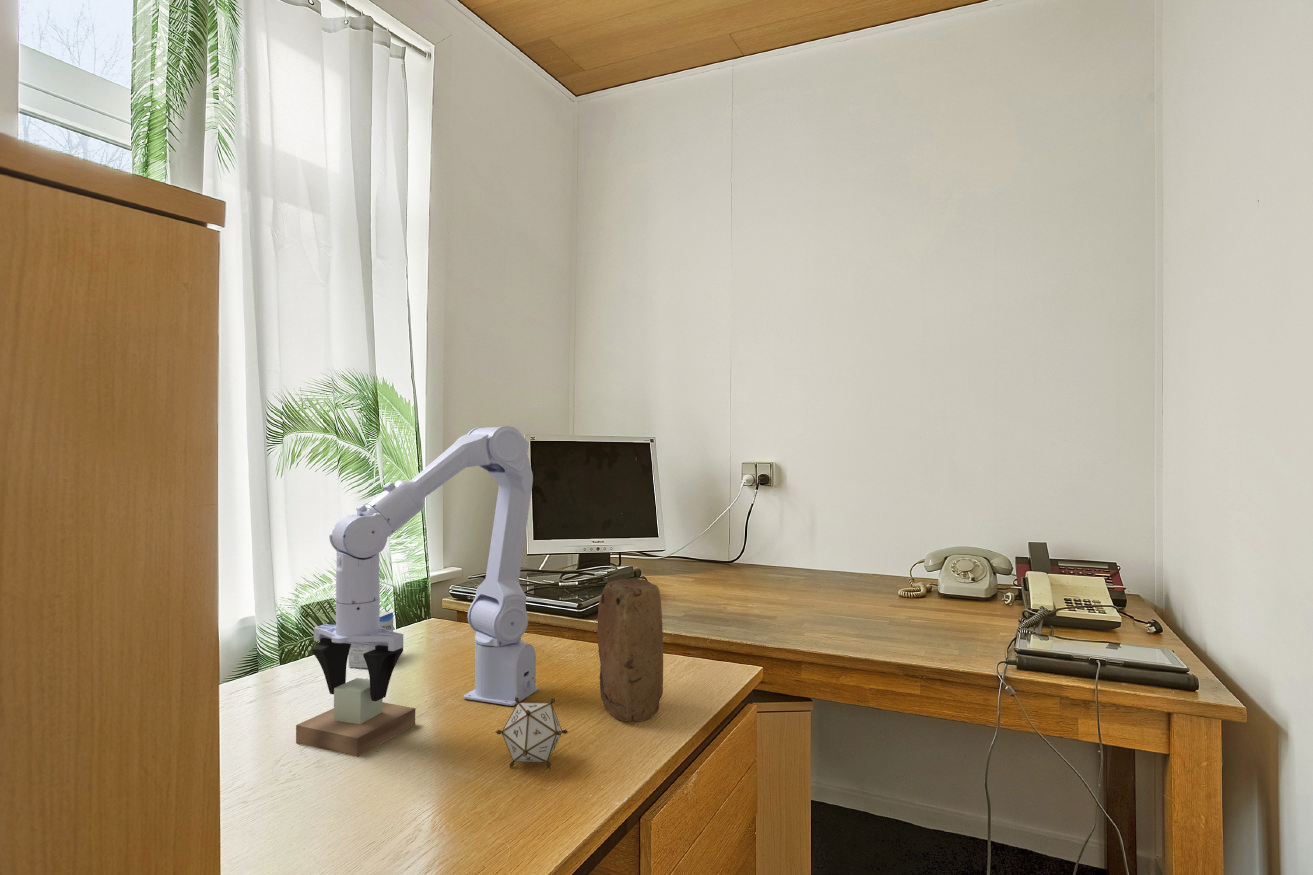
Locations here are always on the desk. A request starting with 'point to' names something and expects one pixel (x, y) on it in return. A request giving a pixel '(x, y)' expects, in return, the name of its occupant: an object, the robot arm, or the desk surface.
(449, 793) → the desk surface
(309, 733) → the walnut block
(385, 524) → the robot arm
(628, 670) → the block
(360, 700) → the sage block
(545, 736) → the game die
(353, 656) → the medicine box
